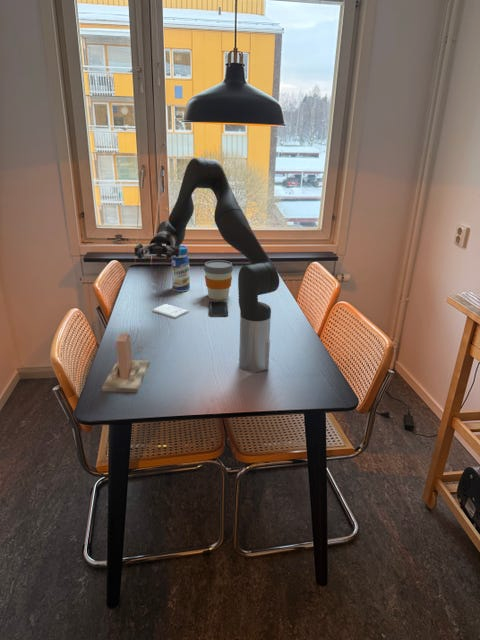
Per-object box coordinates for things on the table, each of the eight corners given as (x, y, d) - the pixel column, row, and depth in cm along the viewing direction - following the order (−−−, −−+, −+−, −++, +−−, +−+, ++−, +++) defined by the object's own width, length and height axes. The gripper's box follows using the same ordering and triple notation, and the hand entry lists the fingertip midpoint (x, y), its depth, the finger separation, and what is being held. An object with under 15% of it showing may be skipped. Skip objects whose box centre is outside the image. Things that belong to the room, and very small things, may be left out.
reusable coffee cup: (207, 302, 185) (207, 268, 179) (202, 292, 196) (201, 260, 190) (235, 299, 188) (236, 267, 182) (228, 290, 199) (228, 259, 193)
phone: (208, 314, 170) (209, 301, 184) (208, 317, 171) (209, 303, 184) (228, 314, 171) (227, 301, 184) (228, 317, 171) (227, 303, 185)
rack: (117, 363, 135) (116, 354, 133) (149, 364, 135) (148, 355, 133) (102, 391, 120) (100, 381, 119) (137, 392, 120) (136, 382, 119)
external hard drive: (166, 306, 181) (188, 313, 174) (152, 312, 174) (175, 320, 168) (166, 303, 180) (188, 309, 174) (152, 309, 174) (175, 316, 168)
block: (124, 369, 129) (120, 333, 124) (132, 369, 129) (129, 333, 124) (120, 377, 125) (116, 341, 120) (128, 378, 125) (125, 341, 120)
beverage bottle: (188, 285, 205) (187, 244, 197) (191, 291, 197) (190, 248, 189) (170, 286, 202) (168, 245, 194) (173, 292, 195) (172, 250, 187)
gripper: (141, 232, 145) (129, 243, 131) (183, 233, 145) (176, 245, 130) (143, 254, 148) (131, 267, 134) (183, 255, 148) (176, 268, 133)
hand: (153, 256), depth 132 cm, fingers open, 8 cm apart
